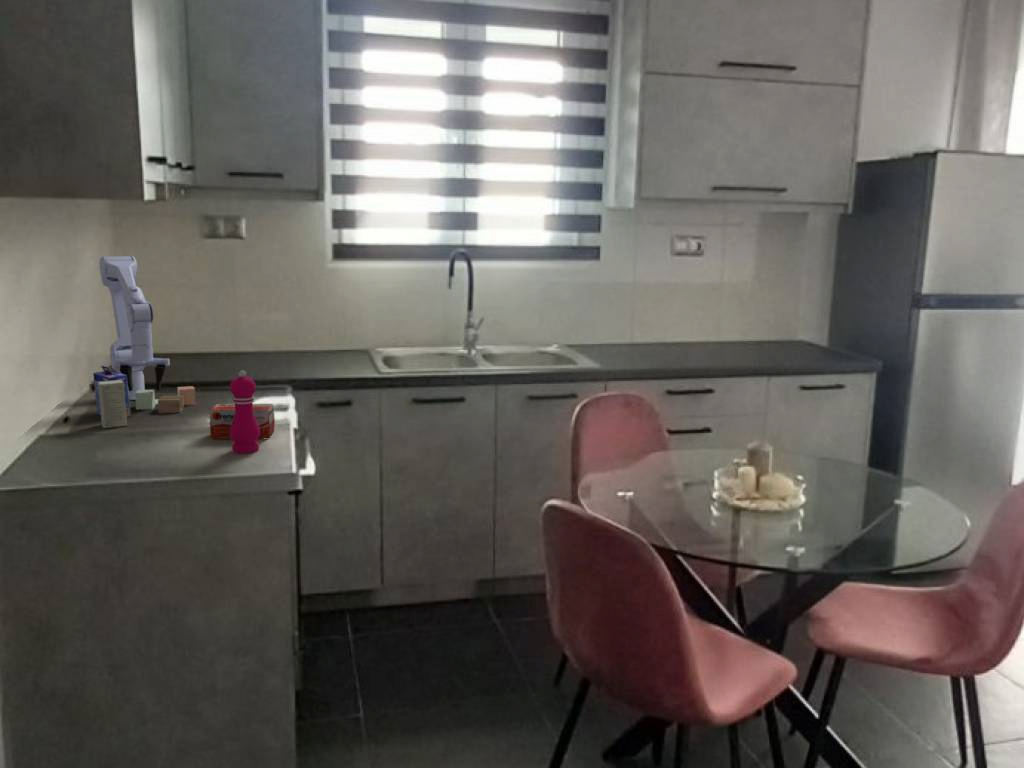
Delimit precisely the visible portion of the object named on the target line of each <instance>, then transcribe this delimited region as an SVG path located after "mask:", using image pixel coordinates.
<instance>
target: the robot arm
mask: <svg viewBox="0 0 1024 768" xmlns="http://www.w3.org/2000/svg"><path fill="white" fill-rule="evenodd" d="M99 273H100V278H101V279H100V280H101V282H102V286H106V287H107V288H108V290H109V294H110V296H111V297H110V298H111V304H112V309H113V315H114V316H113V317H114V322H115V328H116V334H117V339H116V340H115V341H114V342H112V344H111V345H110V347H109V354H110V355H109V358H110V359H109V360H110V364H111V368H112V369H113V370H114V371H116V373H121V374H125V375H126V376H127V385H128V394H129V401H130V400H131V401H132V400H133V401H136V399H135V393H136V392H137V391H138V390H146V388H145V375H144V372H143V370H144V369H145V368H146V367H152V366H153V367H154V366H155V367H154V371H155V372H154V373H155V377H156V381H155V382H156V383H155V384H156V386H155V387H156V388H155V389H156V391H160V390H161V388H162V387H161V385H162V380H163V377H164V374H165V371H166V368H167V367H169V366H170V363H171V362H170V358H165V357H164V358H159V357H154V349H153V335H152V323H153V322H154V308H153V306H152V304H151V302H149V301H146V298H145V295H144V293H143V291H142V288H140V287H138V286H137V284H136V281H135V280H136V277H137V274H138V262H137V259H136V258H135V257H134V256H133V255H130V256H126V255H125V256H103V255H102V256H101V257H100V258H99Z"/></svg>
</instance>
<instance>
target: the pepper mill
mask: <svg viewBox="0 0 1024 768" xmlns="http://www.w3.org/2000/svg"><path fill="white" fill-rule="evenodd" d="M256 389H257V386H256V382H255V381H254V379H252V378H251V377H249V376H247V372H246V371H245V370H244V369H243V370H240V371H239V372H238V377H236V378H234V379H233V380H231V382H230V385H229V391H230V392H231V394H232V395H233V397H232V399H233V400H232V404H235V415H234V419H233V421H232V424H231V427H230V438H231V439H230V440H232V441H233V443H232V444H231V447H232V450H231V451H232V453H236V454H241V453H245V454H250V453H249V452H253V453H255V452H254V451H256V452H258V451H259V449H260V446H259V445H260V444H259V442H258V441H257V440H259V439H258V438H259V436H260V428H259V425H258V423H257V421H256V419H255V417H254V414H253V408H252V405H253V404H254V402H255V400H254V399H255V396H254V394H255V393H256ZM257 450H258V451H257Z"/></svg>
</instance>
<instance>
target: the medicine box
mask: <svg viewBox="0 0 1024 768" xmlns="http://www.w3.org/2000/svg"><path fill="white" fill-rule="evenodd" d="M252 408H253V414H254V417H255V419H256V421H257V423H258V425H259V428H260V436H259V438H258V439H257V440H264V439H263V438H270V439H271V436H272V434H273V433H274V432H275V425H276V424H275V419H276V418H275V408H274V404H273V403H253V405H252ZM234 415H235V403H216V405H214V406H213V407H212V408H211V409H210V410H209V429H210V430H209V432H210V436H211V437H210V438H211V440H232V439H231V438H230V427H231V424H232V421H233V419H234Z"/></svg>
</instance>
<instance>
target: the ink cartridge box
mask: <svg viewBox="0 0 1024 768" xmlns="http://www.w3.org/2000/svg"><path fill="white" fill-rule="evenodd" d="M101 368H102V369H103V371H97V372H96V371H95V372H92V375H93V383H94V392H95V393H94V395H95V396H94V397H95V403H96V413H97V415H99V416H101V410H100V399H99V389H98V382H102V381H113V380H122V381H123V382H124V393H125V405H126V416H127V418H128V417H131V407H130V400H129V394H128V385H127V376H126V375H125V374H121V373H117V371H115V370H111V369H110V368H109V367H108V366H105V365H101Z"/></svg>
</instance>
